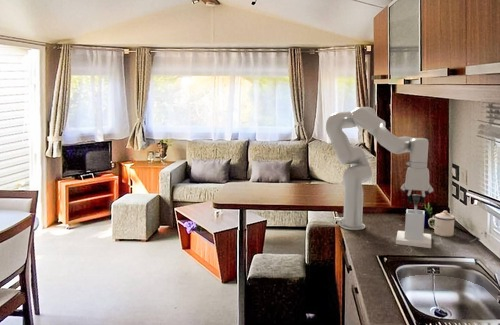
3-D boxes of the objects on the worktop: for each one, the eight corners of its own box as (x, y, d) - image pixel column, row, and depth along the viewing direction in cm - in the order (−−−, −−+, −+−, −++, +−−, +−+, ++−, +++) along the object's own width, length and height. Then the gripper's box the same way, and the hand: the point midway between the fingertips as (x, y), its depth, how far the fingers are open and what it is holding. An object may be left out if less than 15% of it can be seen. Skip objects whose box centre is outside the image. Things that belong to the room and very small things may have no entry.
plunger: (407, 234, 205) (409, 195, 203) (407, 230, 211) (410, 193, 208) (420, 235, 203) (422, 197, 201) (420, 231, 209) (423, 194, 206)
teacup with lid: (454, 232, 220) (456, 209, 218) (453, 238, 212) (454, 214, 210) (428, 229, 226) (430, 207, 224) (426, 234, 218) (427, 211, 216)
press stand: (395, 244, 203) (397, 214, 201) (397, 234, 217) (399, 206, 215) (431, 248, 198) (433, 217, 196) (430, 238, 212) (432, 209, 210)
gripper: (398, 165, 202) (396, 204, 204) (438, 167, 196) (435, 208, 198) (399, 163, 209) (397, 201, 211) (438, 165, 202) (435, 204, 205)
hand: (415, 204), depth 205 cm, fingers closed on plunger, 4 cm apart
